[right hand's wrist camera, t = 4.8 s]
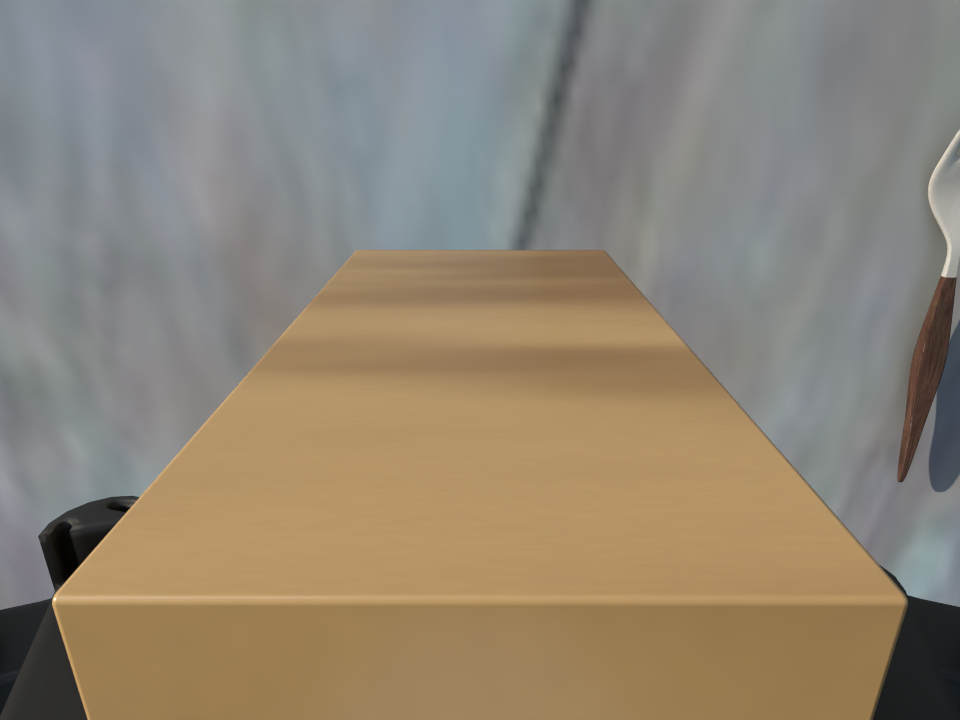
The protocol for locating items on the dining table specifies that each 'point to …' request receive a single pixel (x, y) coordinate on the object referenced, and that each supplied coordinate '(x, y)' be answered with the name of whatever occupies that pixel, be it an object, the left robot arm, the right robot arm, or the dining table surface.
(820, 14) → the dining table surface
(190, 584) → the box
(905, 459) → the fork
